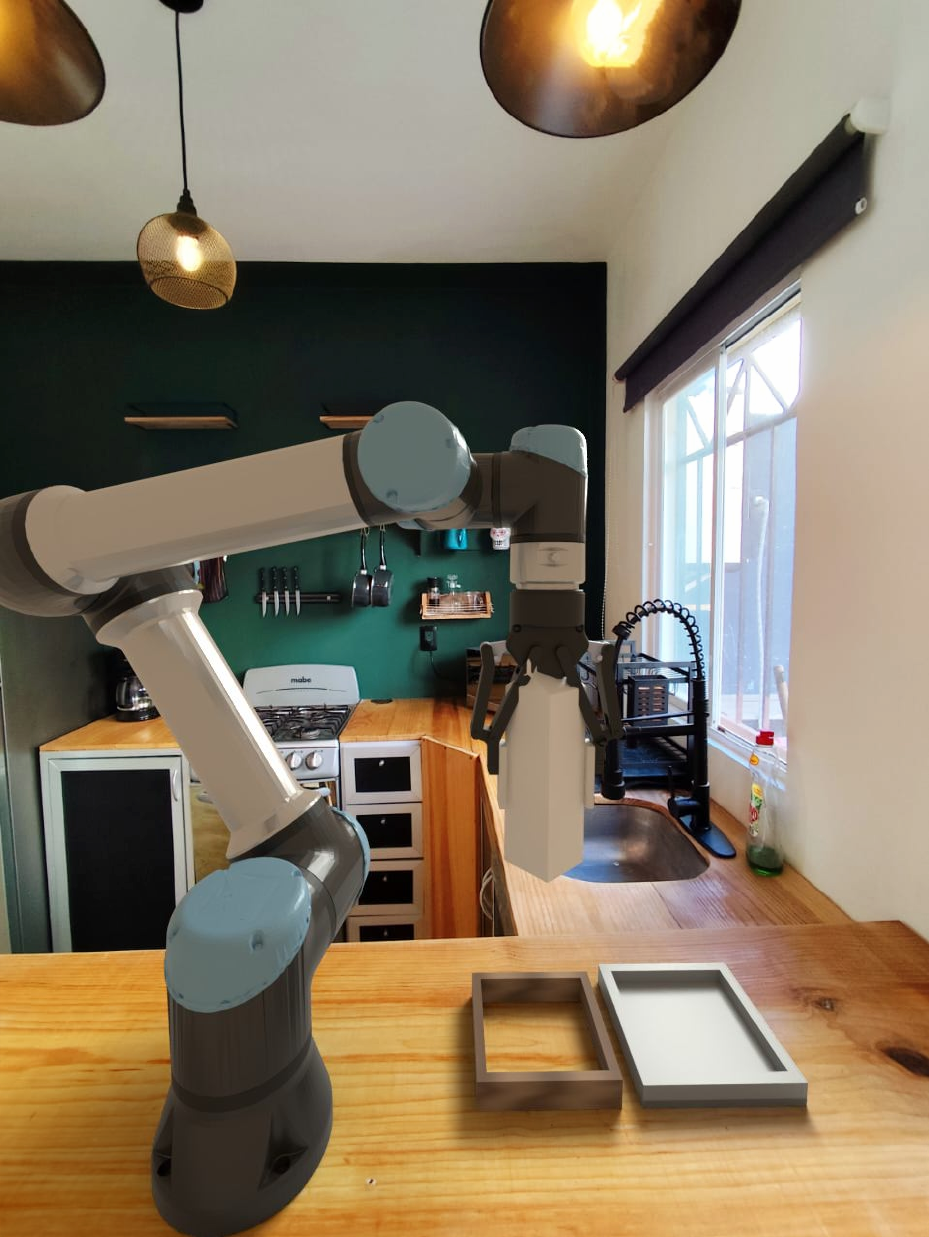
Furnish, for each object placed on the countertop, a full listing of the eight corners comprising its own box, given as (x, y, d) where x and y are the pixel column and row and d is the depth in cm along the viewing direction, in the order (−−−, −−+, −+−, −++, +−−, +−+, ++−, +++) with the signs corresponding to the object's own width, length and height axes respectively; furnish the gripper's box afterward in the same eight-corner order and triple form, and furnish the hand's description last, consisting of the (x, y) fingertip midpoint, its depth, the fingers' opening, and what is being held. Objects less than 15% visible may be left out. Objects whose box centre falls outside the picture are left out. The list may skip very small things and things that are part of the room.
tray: (642, 1108, 51) (643, 1085, 51) (598, 981, 67) (598, 963, 67) (806, 1105, 52) (808, 1082, 51) (723, 980, 67) (724, 962, 67)
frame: (476, 1111, 51) (476, 1082, 51) (471, 995, 65) (472, 972, 65) (622, 1108, 51) (622, 1079, 51) (586, 994, 65) (586, 971, 65)
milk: (583, 862, 56) (589, 655, 54) (547, 884, 52) (552, 662, 50) (538, 840, 61) (542, 649, 59) (501, 859, 57) (505, 654, 55)
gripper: (442, 587, 50) (443, 820, 52) (664, 587, 50) (657, 818, 52) (444, 586, 58) (444, 789, 59) (637, 586, 58) (632, 788, 60)
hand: (544, 803), depth 56 cm, fingers closed on milk, 8 cm apart
